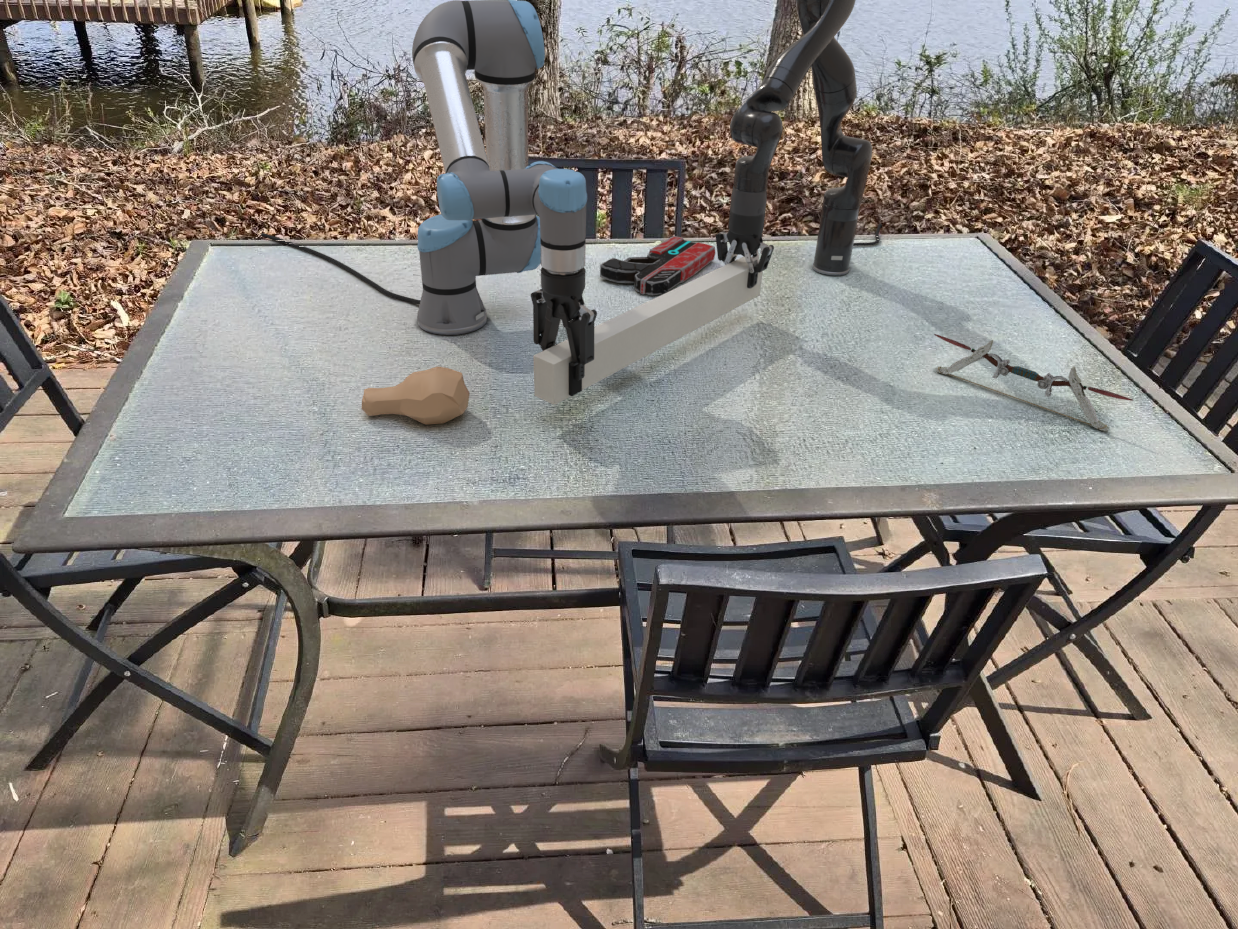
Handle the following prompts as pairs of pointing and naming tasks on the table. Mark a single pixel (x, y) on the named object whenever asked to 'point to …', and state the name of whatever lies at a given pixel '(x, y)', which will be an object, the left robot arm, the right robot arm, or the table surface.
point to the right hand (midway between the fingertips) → (739, 283)
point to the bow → (1043, 382)
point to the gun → (660, 266)
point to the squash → (421, 397)
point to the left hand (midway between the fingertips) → (563, 387)
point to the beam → (646, 329)
